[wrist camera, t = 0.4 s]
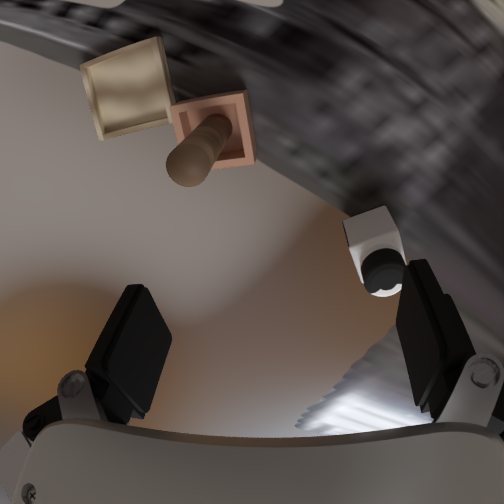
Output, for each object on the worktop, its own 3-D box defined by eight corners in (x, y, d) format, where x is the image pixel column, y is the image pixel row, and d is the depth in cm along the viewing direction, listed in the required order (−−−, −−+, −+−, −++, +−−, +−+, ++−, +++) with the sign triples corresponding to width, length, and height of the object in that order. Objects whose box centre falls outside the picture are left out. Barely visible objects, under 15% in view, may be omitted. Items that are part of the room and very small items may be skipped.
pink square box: (179, 101, 37) (169, 106, 34) (246, 89, 36) (242, 93, 33) (193, 162, 43) (185, 173, 39) (257, 153, 41) (254, 164, 38)
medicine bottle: (341, 219, 46) (354, 272, 36) (385, 203, 43) (409, 252, 34) (354, 255, 49) (367, 309, 40) (395, 240, 47) (417, 292, 37)
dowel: (199, 116, 38) (161, 150, 27) (229, 111, 37) (203, 142, 26) (205, 144, 40) (172, 189, 29) (234, 140, 39) (212, 184, 28)
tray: (87, 63, 34) (79, 65, 32) (161, 36, 32) (156, 36, 30) (106, 137, 41) (99, 141, 39) (179, 119, 39) (175, 122, 37)
